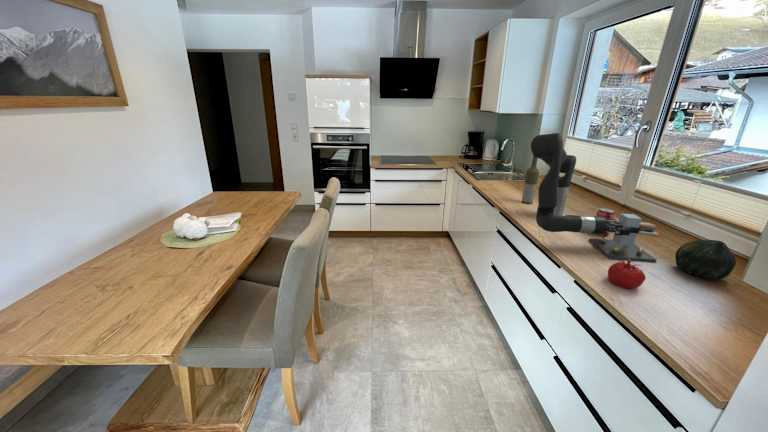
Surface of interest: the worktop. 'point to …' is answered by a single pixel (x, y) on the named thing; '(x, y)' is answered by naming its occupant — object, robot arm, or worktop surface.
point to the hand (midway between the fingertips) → (634, 227)
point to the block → (627, 221)
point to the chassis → (621, 250)
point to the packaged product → (646, 229)
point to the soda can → (606, 216)
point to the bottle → (530, 182)
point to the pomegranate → (626, 275)
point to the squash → (706, 259)
